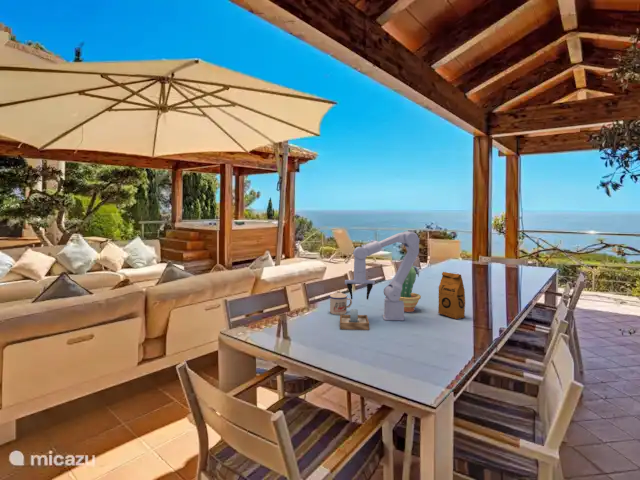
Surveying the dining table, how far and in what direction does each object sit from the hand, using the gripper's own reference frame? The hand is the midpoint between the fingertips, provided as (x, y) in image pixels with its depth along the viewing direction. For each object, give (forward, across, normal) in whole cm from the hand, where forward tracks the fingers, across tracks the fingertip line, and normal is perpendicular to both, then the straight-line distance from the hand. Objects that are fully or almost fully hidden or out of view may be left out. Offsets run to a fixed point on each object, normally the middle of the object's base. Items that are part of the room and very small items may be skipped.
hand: (359, 299), depth 181 cm
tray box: (+10, +3, +10) cm, 15 cm away
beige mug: (+10, +9, -11) cm, 17 cm away
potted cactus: (+10, -26, -19) cm, 34 cm away
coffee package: (+10, -47, -8) cm, 49 cm away
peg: (+10, +3, +10) cm, 15 cm away
